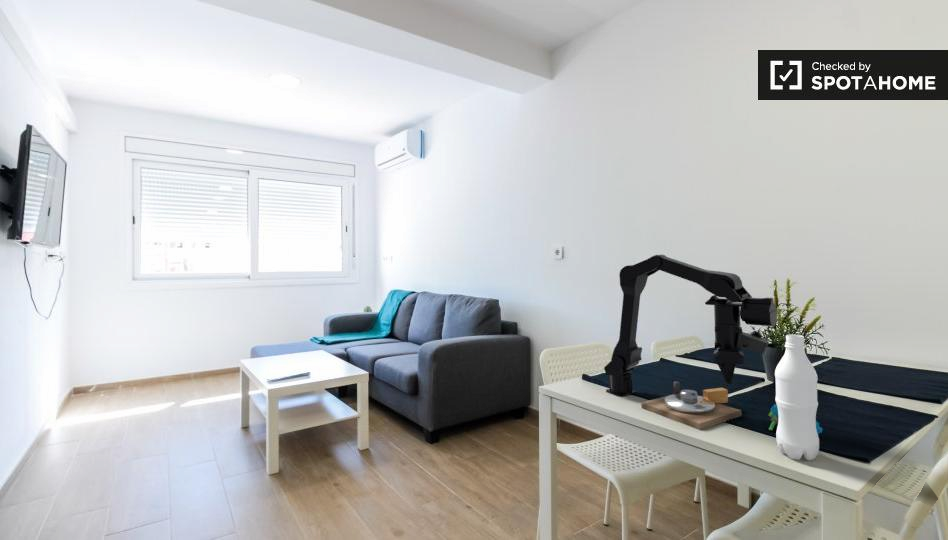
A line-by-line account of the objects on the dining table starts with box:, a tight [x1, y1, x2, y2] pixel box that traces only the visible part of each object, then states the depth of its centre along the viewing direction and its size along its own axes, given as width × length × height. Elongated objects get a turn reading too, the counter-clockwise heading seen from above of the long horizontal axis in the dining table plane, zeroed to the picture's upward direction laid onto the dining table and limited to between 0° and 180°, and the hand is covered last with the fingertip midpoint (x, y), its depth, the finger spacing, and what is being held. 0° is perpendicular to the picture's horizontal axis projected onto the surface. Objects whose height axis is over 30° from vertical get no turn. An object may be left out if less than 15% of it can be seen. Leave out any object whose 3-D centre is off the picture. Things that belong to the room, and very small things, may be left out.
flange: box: [665, 387, 729, 414], centre depth 118 cm, size 17×12×4 cm
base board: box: [640, 380, 742, 430], centre depth 118 cm, size 18×16×6 cm
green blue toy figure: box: [767, 403, 824, 435], centre depth 101 cm, size 11×6×10 cm
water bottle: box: [774, 333, 820, 461], centre depth 91 cm, size 7×7×25 cm
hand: (729, 383), depth 113 cm, fingers closed
